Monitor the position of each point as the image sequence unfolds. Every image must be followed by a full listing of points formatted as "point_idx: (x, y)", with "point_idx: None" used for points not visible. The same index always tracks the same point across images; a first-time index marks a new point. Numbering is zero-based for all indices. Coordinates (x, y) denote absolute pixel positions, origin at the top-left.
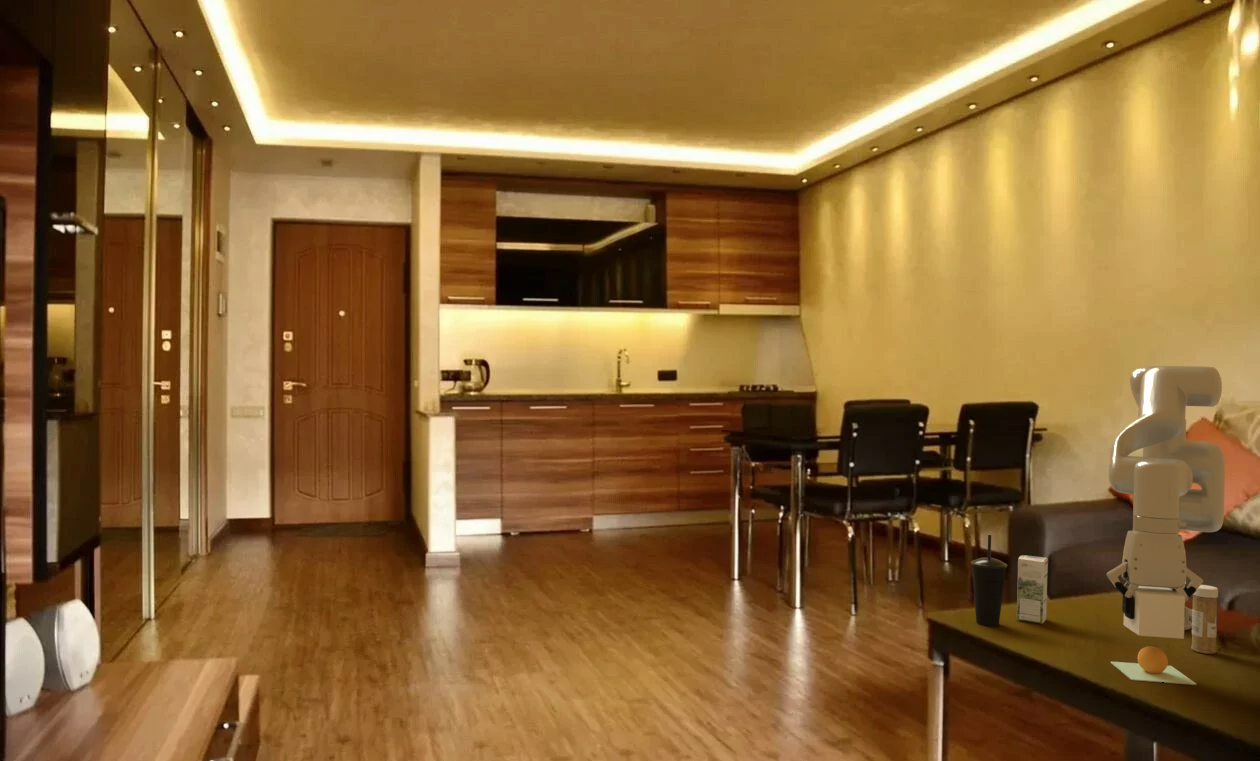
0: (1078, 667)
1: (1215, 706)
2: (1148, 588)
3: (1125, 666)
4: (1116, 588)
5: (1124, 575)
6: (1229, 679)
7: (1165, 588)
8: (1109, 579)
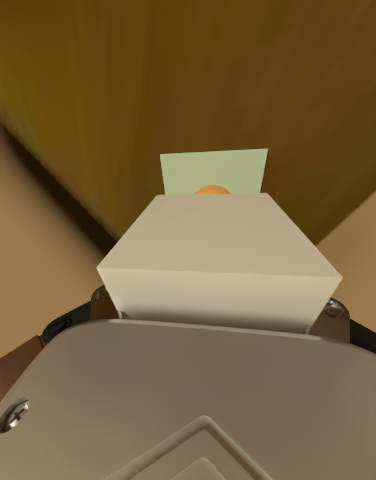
0: (111, 198)
1: None
2: (198, 312)
3: (178, 180)
4: (74, 313)
5: (55, 344)
6: (330, 202)
7: (301, 300)
8: (18, 347)
